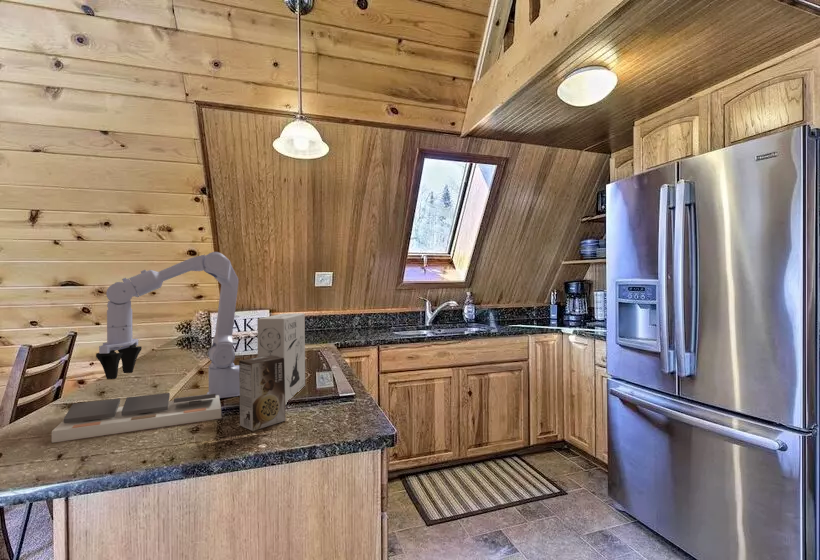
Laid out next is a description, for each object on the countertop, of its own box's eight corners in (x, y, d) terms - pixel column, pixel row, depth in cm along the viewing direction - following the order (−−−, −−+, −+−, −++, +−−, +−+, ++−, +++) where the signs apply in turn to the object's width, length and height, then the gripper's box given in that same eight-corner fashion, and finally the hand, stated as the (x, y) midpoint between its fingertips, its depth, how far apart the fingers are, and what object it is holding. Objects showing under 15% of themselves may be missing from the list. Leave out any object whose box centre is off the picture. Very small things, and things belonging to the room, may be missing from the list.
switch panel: (219, 403, 119) (218, 392, 119) (221, 418, 105) (221, 405, 105) (70, 422, 103) (70, 409, 103) (51, 442, 90) (51, 427, 90)
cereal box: (284, 407, 115) (283, 318, 115) (257, 407, 115) (257, 318, 115) (305, 387, 136) (304, 313, 137) (283, 388, 136) (282, 313, 137)
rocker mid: (169, 396, 110) (169, 392, 110) (167, 410, 103) (167, 406, 103) (126, 401, 106) (126, 397, 105) (121, 415, 99) (121, 412, 98)
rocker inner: (214, 397, 115) (214, 393, 115) (215, 397, 108) (215, 393, 108) (175, 401, 110) (175, 397, 111) (173, 402, 104) (173, 398, 104)
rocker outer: (120, 401, 105) (120, 398, 105) (114, 416, 98) (114, 412, 98) (73, 407, 101) (72, 403, 100) (63, 423, 94) (63, 419, 93)
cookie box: (272, 416, 106) (271, 354, 107) (286, 421, 102) (285, 357, 103) (238, 425, 99) (238, 359, 100) (252, 431, 95) (252, 362, 96)
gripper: (120, 324, 119) (120, 370, 118) (86, 329, 104) (86, 382, 104) (145, 323, 119) (146, 369, 119) (115, 328, 105) (116, 381, 105)
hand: (120, 375), depth 112 cm, fingers open, 7 cm apart
